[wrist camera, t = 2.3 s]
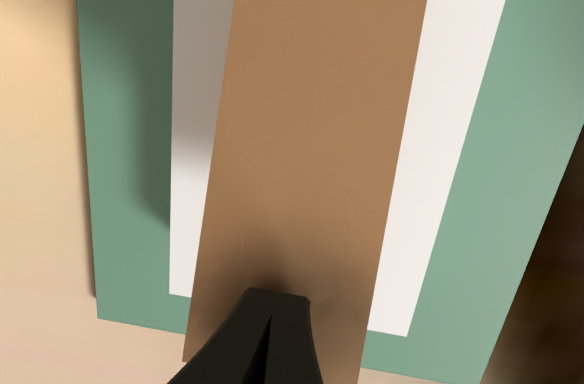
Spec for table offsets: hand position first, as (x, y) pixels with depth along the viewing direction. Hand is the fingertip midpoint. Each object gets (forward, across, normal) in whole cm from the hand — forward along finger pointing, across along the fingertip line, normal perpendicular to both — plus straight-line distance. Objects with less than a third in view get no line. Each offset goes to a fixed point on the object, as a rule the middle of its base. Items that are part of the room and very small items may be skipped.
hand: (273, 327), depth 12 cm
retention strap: (+3, 0, -4) cm, 5 cm away
